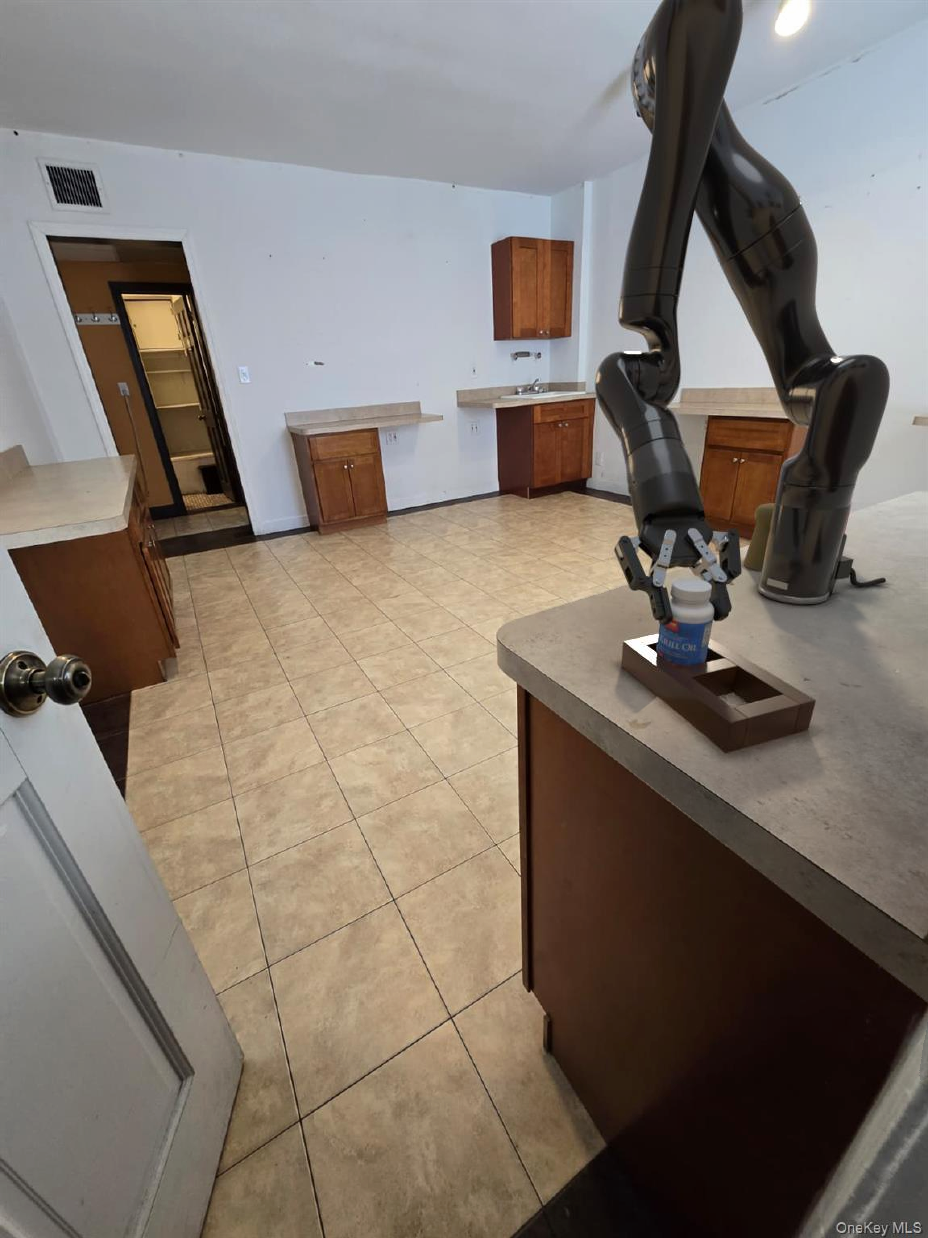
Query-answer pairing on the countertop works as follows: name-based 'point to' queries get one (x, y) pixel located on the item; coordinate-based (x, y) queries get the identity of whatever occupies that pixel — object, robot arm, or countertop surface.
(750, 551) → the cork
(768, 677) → the socket block
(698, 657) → the pill bottle
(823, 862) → the countertop surface
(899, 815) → the countertop surface
